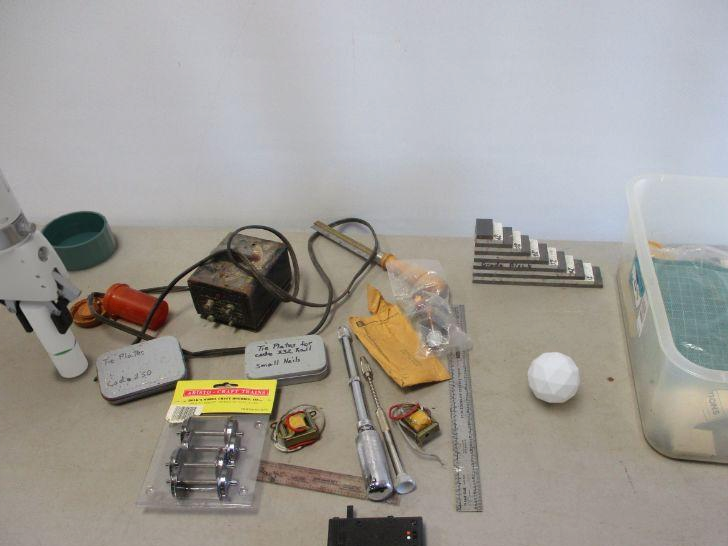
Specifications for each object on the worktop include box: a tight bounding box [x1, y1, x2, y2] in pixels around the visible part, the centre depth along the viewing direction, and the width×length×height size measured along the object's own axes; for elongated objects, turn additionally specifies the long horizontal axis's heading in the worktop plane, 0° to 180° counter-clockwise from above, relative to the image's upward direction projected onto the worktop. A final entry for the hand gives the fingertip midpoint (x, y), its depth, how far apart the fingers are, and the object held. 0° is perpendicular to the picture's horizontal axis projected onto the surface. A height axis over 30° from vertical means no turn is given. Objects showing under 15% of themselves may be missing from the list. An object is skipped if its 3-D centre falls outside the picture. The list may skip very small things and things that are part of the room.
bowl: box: [40, 210, 117, 271], centre depth 116 cm, size 12×12×6 cm
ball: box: [526, 351, 581, 404], centre depth 90 cm, size 8×8×8 cm
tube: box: [20, 300, 89, 379], centre depth 90 cm, size 4×4×15 cm
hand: (50, 325), depth 89 cm, fingers closed on tube, 4 cm apart
